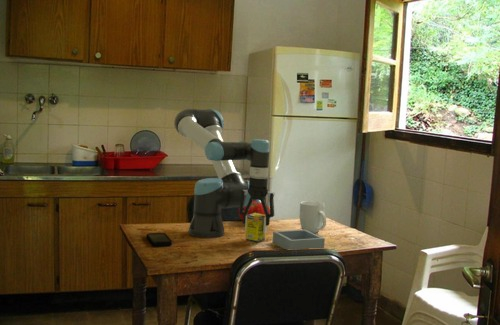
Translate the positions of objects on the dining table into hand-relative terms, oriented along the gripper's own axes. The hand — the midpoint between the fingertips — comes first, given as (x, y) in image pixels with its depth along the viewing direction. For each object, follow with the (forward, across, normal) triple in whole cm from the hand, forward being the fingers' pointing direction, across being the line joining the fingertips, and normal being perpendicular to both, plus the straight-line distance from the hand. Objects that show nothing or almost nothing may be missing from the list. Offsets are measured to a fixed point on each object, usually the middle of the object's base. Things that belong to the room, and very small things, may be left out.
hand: (255, 232), depth 228 cm
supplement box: (+4, 0, 0) cm, 4 cm away
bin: (+4, +18, -1) cm, 18 cm away
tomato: (+4, -9, +33) cm, 34 cm away
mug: (+4, +20, +26) cm, 33 cm away
